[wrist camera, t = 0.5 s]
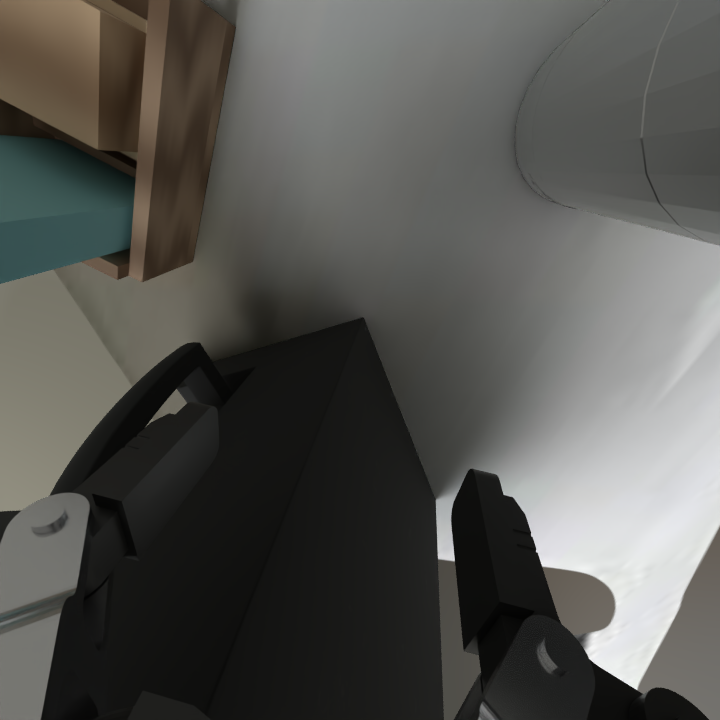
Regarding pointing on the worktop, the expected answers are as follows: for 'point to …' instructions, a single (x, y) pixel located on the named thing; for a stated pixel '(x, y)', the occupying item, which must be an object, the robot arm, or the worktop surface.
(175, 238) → the walnut rack
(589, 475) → the worktop surface
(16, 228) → the teal board
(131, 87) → the upper offcut
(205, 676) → the coffee maker
